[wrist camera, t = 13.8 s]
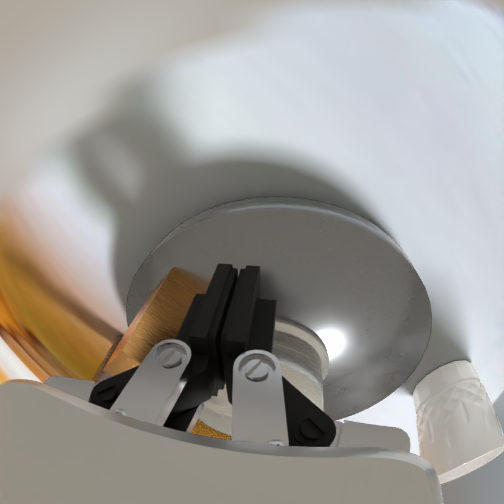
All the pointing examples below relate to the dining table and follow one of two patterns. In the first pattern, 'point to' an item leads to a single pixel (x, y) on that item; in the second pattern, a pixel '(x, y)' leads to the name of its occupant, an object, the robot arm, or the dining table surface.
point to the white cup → (456, 421)
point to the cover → (282, 371)
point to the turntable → (294, 290)
